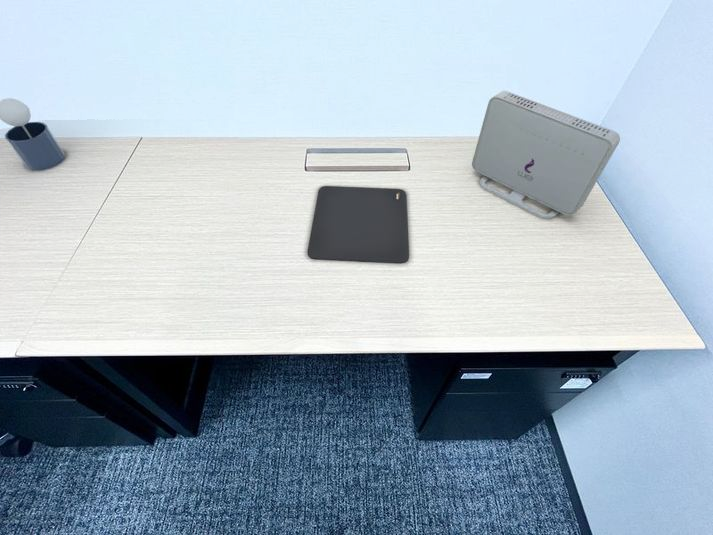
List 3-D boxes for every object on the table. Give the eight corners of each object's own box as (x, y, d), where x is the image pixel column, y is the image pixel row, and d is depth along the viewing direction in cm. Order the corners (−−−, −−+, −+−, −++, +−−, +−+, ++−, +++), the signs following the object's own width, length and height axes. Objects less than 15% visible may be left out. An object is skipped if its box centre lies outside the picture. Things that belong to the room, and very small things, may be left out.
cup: (27, 174, 95) (5, 145, 89) (26, 156, 100) (5, 127, 94) (66, 164, 98) (48, 135, 92) (63, 147, 103) (45, 118, 97)
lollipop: (58, 149, 101) (21, 91, 90) (59, 161, 98) (20, 102, 86) (31, 155, 100) (-11, 96, 88) (30, 167, 96) (-13, 108, 85)
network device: (463, 178, 96) (484, 98, 81) (482, 163, 100) (506, 84, 85) (564, 230, 85) (611, 147, 70) (581, 210, 89) (629, 128, 74)
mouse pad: (409, 263, 78) (409, 262, 78) (306, 259, 79) (306, 258, 78) (405, 190, 93) (406, 189, 93) (319, 186, 93) (319, 185, 93)
